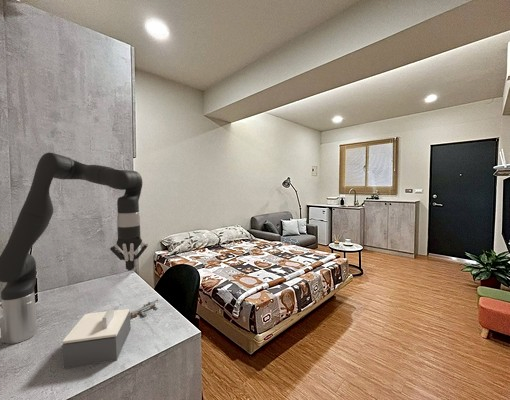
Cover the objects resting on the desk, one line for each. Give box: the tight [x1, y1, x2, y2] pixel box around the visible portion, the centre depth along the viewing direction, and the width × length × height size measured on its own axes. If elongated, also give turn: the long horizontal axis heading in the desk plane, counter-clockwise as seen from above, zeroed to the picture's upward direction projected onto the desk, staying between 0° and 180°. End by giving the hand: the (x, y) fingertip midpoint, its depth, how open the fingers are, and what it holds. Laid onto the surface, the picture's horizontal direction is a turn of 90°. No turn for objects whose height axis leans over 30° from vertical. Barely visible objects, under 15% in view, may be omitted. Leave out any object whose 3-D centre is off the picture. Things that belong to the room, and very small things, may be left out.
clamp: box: [130, 298, 159, 319], centre depth 115 cm, size 15×2×10 cm
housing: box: [61, 310, 131, 369], centre depth 89 cm, size 16×18×8 cm
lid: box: [62, 305, 131, 345], centre depth 89 cm, size 16×17×5 cm
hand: (130, 269), depth 90 cm, fingers closed
